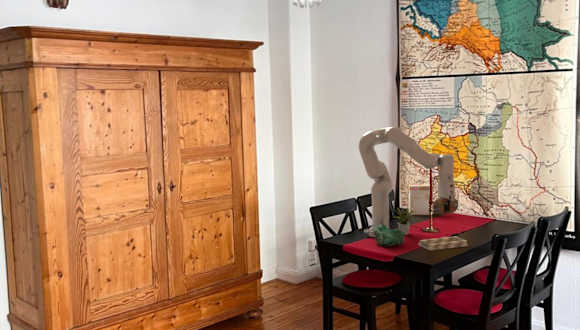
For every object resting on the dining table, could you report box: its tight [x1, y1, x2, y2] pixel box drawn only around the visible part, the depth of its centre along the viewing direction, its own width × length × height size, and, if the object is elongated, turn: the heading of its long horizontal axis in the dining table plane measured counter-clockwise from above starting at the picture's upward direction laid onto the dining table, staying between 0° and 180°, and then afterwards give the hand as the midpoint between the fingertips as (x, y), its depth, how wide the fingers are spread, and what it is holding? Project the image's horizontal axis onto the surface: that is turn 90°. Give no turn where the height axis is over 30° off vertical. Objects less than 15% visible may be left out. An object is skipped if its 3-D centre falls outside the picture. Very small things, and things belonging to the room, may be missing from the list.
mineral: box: [373, 224, 405, 247], centre depth 319 cm, size 18×16×10 cm
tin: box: [433, 197, 459, 215], centre depth 323 cm, size 15×3×8 cm, turn 110°
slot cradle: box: [417, 235, 469, 251], centre depth 316 cm, size 23×12×3 cm, turn 109°
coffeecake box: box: [408, 183, 434, 216], centre depth 391 cm, size 15×7×20 cm, turn 84°
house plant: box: [394, 205, 416, 236], centre depth 340 cm, size 14×14×16 cm
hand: (445, 210), depth 323 cm, fingers closed on tin, 2 cm apart
